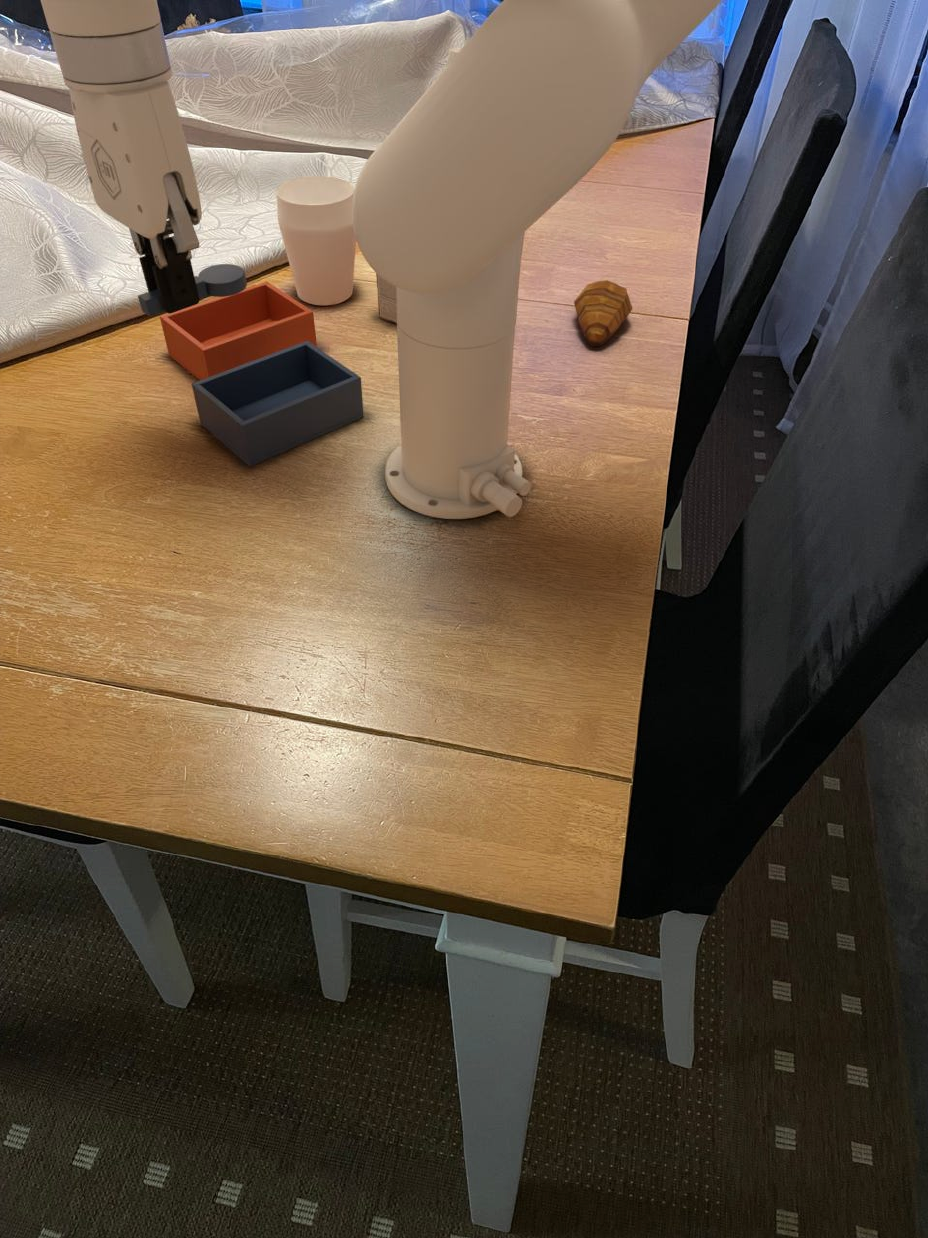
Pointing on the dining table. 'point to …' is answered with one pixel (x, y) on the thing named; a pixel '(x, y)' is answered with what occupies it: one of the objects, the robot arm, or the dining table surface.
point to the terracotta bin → (236, 329)
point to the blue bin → (278, 402)
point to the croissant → (602, 310)
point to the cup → (318, 237)
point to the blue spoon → (203, 286)
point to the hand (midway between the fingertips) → (175, 301)
